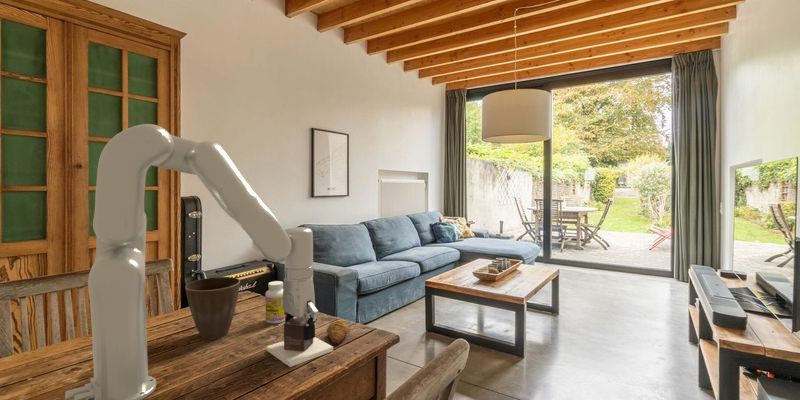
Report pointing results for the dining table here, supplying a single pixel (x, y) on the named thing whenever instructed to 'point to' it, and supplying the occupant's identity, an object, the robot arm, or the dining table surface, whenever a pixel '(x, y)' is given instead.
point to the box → (295, 335)
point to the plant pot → (213, 304)
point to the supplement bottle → (274, 303)
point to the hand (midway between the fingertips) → (299, 333)
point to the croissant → (337, 332)
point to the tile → (299, 352)
